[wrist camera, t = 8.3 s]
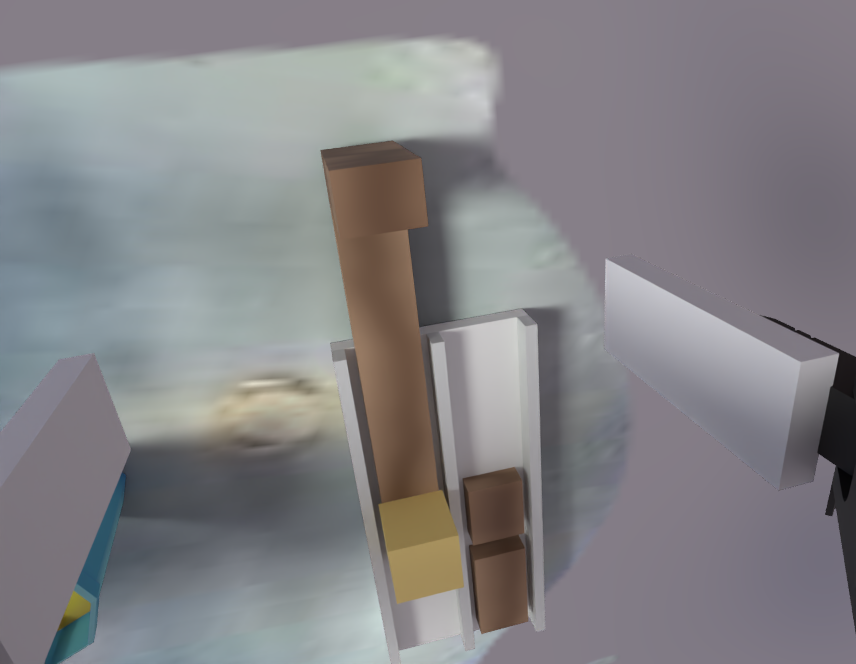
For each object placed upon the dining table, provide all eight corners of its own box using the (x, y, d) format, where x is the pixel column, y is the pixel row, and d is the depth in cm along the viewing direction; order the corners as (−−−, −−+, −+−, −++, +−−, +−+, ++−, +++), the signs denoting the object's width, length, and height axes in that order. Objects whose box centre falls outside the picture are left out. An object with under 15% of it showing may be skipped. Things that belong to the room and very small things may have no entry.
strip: (391, 559, 44) (410, 652, 37) (320, 150, 32) (328, 170, 25) (442, 547, 45) (470, 636, 38) (392, 140, 32) (421, 158, 25)
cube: (386, 553, 42) (397, 603, 38) (378, 504, 40) (388, 552, 36) (447, 538, 42) (464, 587, 38) (442, 489, 41) (458, 535, 37)
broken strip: (475, 617, 49) (481, 633, 47) (462, 478, 43) (468, 492, 41) (521, 605, 49) (528, 621, 48) (514, 466, 43) (522, 480, 42)
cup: (182, 558, 42) (129, 788, 28) (67, 587, 41) (-44, 839, 27) (111, 391, 36) (2, 581, 22) (-24, 420, 35) (-225, 636, 21)
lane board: (387, 640, 49) (392, 670, 47) (330, 343, 38) (333, 362, 35) (532, 602, 51) (545, 629, 49) (521, 308, 40) (537, 324, 37)
